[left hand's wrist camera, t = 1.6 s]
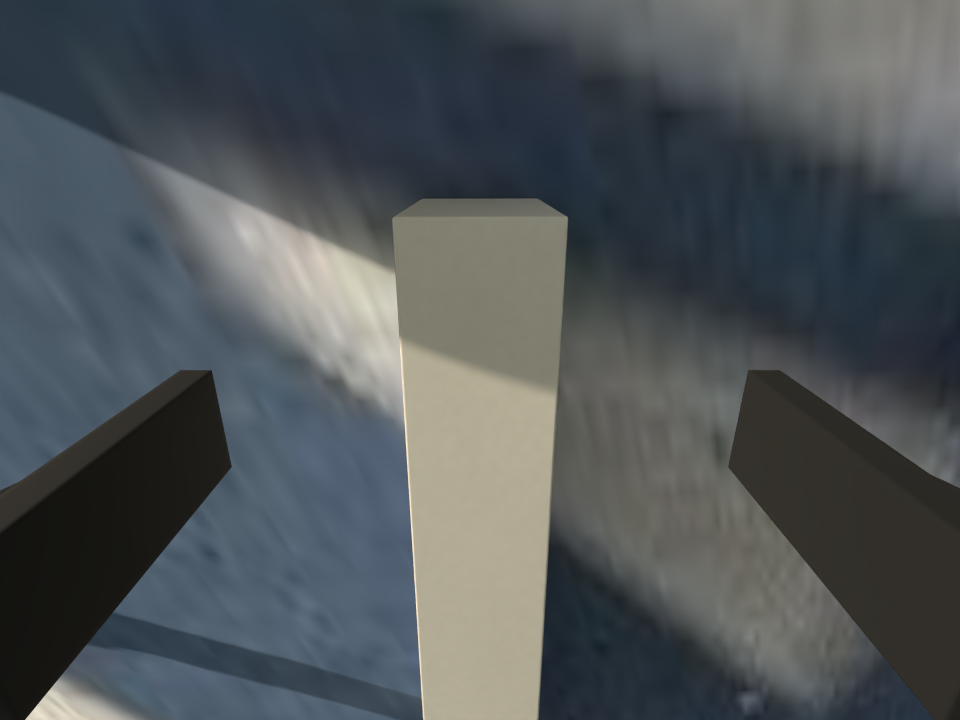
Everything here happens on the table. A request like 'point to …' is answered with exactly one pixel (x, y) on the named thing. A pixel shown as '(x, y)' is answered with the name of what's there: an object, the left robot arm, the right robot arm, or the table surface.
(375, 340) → the table surface
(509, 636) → the beige long bar
